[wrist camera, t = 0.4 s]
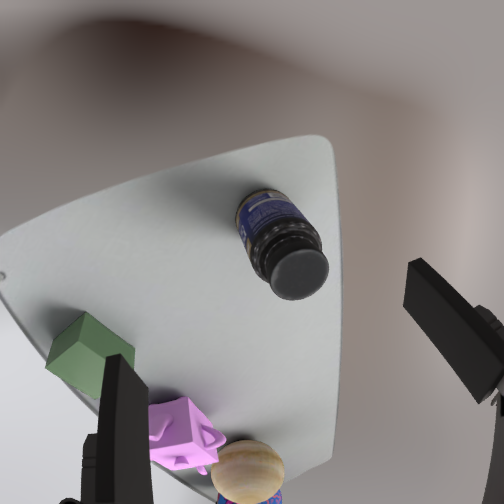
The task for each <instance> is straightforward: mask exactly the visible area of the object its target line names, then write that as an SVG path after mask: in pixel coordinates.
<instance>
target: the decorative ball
mask: <svg viewBox="0 0 504 504" xmlns="http://www.w3.org/2000/svg"><path fill="white" fill-rule="evenodd" d="M218 459H219V462H216V463H212V466H211V478H212V481H213V484H214V486H215V488H216V489H217V491H218V492H219V493H220V494H221V495H222V496H224V497H225V498H226V499H228V500H230V501H232V502H235V503H239V504H257V503H261V502H263V501H266V500H268V499H269V498H271V497H272V496H273V495H274V494H275V493H276V492H277V491H278V490H279V489H280V487H281V485H282V483H283V479H284V465H283V462H282V460H281V458H280V456H279V455H278V453H277V452H275V451H274V450H273V449H272V448H271V447H270V446H268V445H266V444H264V443H262V442H258V441H253V440H241V441H237V442H233V443H231V444H229V445H227V446H226V447H224V448H223V449H221V450H220V451H219V453H218Z"/></svg>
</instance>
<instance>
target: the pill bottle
mask: <svg viewBox="0 0 504 504" xmlns="http://www.w3.org/2000/svg"><path fill="white" fill-rule="evenodd" d="M235 221H236V226H237V229H238V231H239V234H240V236H241V239H242V242H243V244H244V247H245V249H246V252H247V254H248V256H249V259H250V261H251V264H252V267H253V269H254V270H255V272H256V274H257V275H258V276H259V277H260V278H261V279H262V280H263V281H265V282H267V283H269V284H270V287H271V289H272V290H273V292H274V293H275V294H276V295H277V296H278V297H280V298H282V299H285V300H292V301H293V300H301V299H304V298H306V297H309V296H311V295H312V294H314V293H315V292H316V291H318V290H319V289H320V288H321V287H322V285H323V284H324V283H325V281H326V279H327V276H328V272H329V264H328V261H327V258H326V257H325V255H324V254H323V252H322V242H321V239H320V236H319V234H318V232H317V231H316V230H315V228H314V227H313V226H312V225H311V224H310V223H309V221H308V220H307V219H306V218H305V217H304V216H303V214H302V213H301V212H300V211H299V210H298V209H297V208H296V206H295V205H294V204H293V203H292V202H291V201H290V200H289V198H288V197H287V196H285V195H284V194H283V193H281V192H279V191H276V190H271V189H263V190H259V191H256V192H253V193H251V194H250V195H248V196H247V197H246V198H245V199H244V200H243V201H242V202H241V203H240V205H239V207H238V210H237V213H236V218H235Z"/></svg>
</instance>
